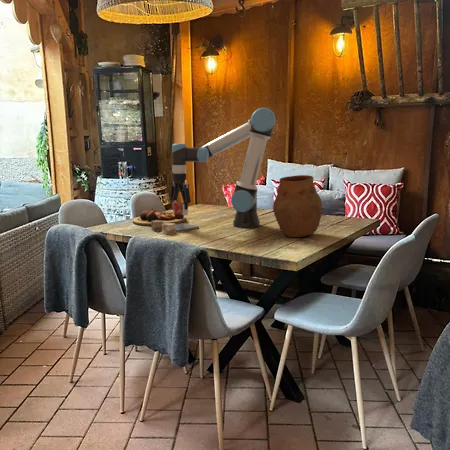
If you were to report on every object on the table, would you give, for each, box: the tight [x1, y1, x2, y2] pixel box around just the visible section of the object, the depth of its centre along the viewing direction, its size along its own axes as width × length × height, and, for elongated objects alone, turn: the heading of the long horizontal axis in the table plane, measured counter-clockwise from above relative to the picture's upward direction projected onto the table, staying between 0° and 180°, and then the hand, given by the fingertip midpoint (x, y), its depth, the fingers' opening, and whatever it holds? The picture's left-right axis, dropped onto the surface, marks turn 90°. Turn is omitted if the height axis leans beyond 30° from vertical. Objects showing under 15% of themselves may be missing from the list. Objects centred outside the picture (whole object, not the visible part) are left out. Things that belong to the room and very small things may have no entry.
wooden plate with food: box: [132, 208, 187, 227], centre depth 260 cm, size 32×32×8 cm
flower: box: [171, 199, 184, 215], centre depth 236 cm, size 10×9×8 cm
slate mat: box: [175, 222, 200, 233], centre depth 239 cm, size 14×14×1 cm
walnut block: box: [150, 220, 163, 232], centre depth 235 cm, size 5×5×5 cm
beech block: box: [161, 223, 177, 235], centre depth 227 cm, size 5×5×5 cm
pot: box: [272, 174, 323, 238], centre depth 216 cm, size 24×24×30 cm
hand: (180, 214), depth 237 cm, fingers closed on flower, 8 cm apart
